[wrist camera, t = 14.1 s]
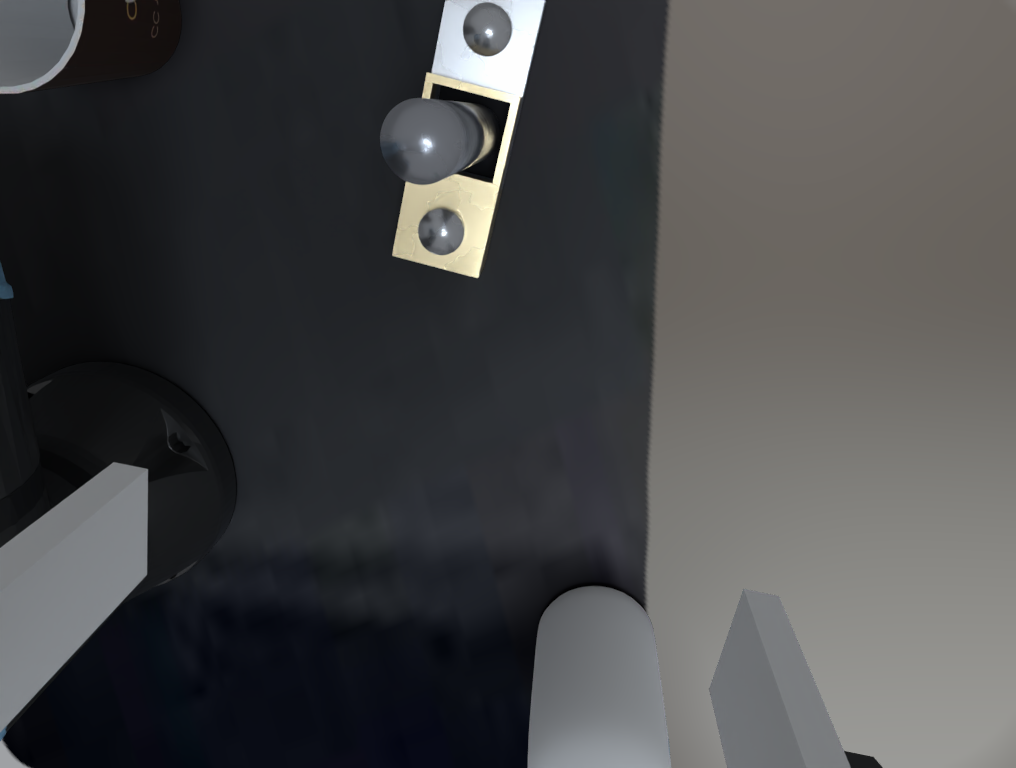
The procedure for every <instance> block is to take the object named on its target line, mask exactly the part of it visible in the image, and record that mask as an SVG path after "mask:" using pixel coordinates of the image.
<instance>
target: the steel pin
mask: <svg viewBox="0 0 1016 768" xmlns="http://www.w3.org/2000/svg"><path fill="white" fill-rule="evenodd" d="M500 140H501V126H500V123H499V120H498V118H497V117H496V115H495V114H494V113H493V111H491V110H490V109H489V108H488V107H486V106H484V105H481V104H477V103H468V102H458V101H448V100H437V99H427V98H412V99H408V100H406V101H403V102H401V103H399V104H398V105H397V106H395V107H394V108H393V109H392V110H391V111H390V112H389V114H388V115H387V116H386V118H385V120H384V122H383V125H382V128H381V133H380V146H381V151H382V155H383V157H384V160H385V161H386V163H387V165H388V166H389V168H390V169H391V170H392V171H393V172H394V173H395V174H396V175H397V176H398V177H400V178H401V179H403V180H405V181H407V182H409V183H412V184H417V185H428V184H433V183H436V182H438V181H441V180H443V179H445V178H447V177H449V176H451V175H453V174H456V173H458V172H460V171H462V170H464V169H466V168H468V167H470V166H473V165H475V164H477V163H479V162H481V161H483V160H485V159H487V158H489V157H490V156H491V155H492V154H493V153H494V152H495V151H496V149H497V148H498V146H499V143H500Z"/></svg>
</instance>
